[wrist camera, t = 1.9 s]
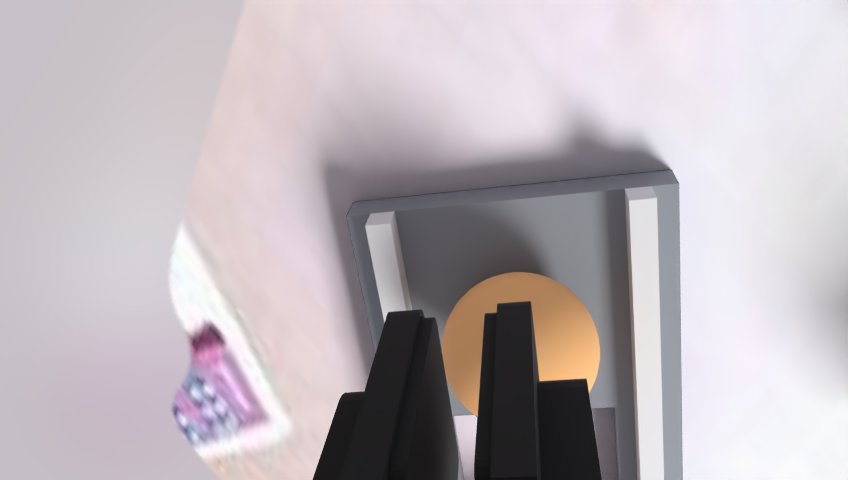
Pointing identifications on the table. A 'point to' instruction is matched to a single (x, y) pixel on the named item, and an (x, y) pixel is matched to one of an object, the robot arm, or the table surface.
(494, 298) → the ball
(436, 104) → the table surface
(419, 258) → the railed grey tray
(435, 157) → the table surface
